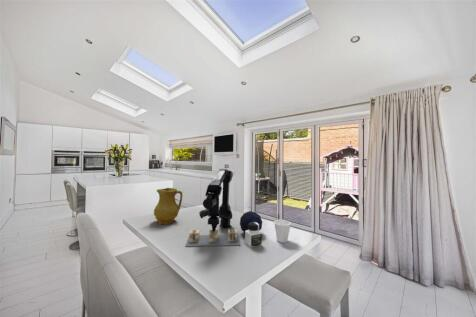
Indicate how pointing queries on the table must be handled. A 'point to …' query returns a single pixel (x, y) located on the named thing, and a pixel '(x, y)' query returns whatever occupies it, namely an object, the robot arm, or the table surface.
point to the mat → (205, 242)
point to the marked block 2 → (232, 235)
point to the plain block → (213, 236)
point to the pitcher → (167, 206)
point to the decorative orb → (250, 220)
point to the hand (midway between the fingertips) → (213, 231)
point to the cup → (282, 230)
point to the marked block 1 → (194, 236)
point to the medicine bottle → (253, 235)
